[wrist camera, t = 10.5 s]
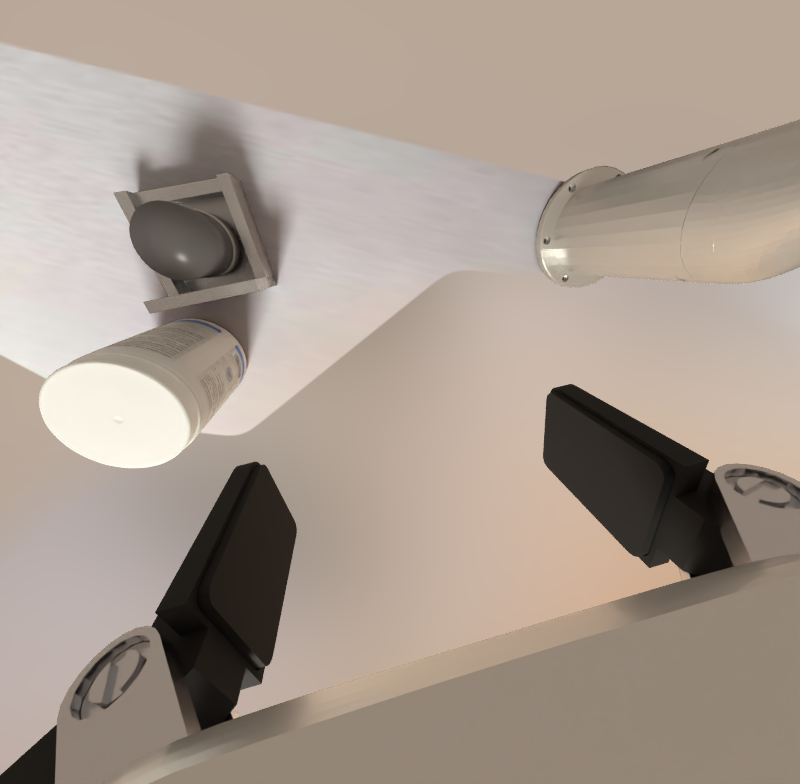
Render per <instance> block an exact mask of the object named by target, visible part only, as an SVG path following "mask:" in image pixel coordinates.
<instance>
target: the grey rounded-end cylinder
mask: <svg viewBox="0 0 800 784" xmlns="http://www.w3.org/2000/svg"><path fill="white" fill-rule="evenodd" d="M129 228H130V237H131V240H132V243H133V246H134V248H135V250H136V251H137V253H138V255H139V256H140V257H141V259H142V260H143V261H144V262H145V263H146V264H147V265H148V266H149V267H150V268H152V269H153V270H154V271H156V272H157V273H159V274H161V275H163V276H165V277H167V278H170V279H174V280H180V281H186V280H194V279H201V278H215V277H220V276H223V275H226V274H228V273H230V272H231V271H232V270H234V269H235V267H236V266H237V264H238V262H239V259H240V246H239V243H238V240H237V238H236V236H235V234H234V232H233V231H232V230H231V228H230V227H229V226H228V225H227V224H226V223H224V222H223V221H222V220H220V219H219V218H217V217H215V216H214V215H212V214H209V213H207V212H204V211H200V210H196V209H190V208H187V207H184V206H181V205H178V204H174V203H171V202H167V201H160V200H156V201H150V202H146V203H144V204H142V205H141V206H139V207H138V208H137V209H136V210H135V212H134V213H133V215H132V217H131V220H130V227H129Z"/></svg>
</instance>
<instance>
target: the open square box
mask: <svg viewBox="0 0 800 784" xmlns="http://www.w3.org/2000/svg"><path fill="white" fill-rule="evenodd" d="M216 176H217V178H213V179H208V180H202V181H197V182H191V183H186V184H180V185H174V186H169V187H163V188H158V189H152V190H147V191H141V192H135V193H131V192H128V191H121V192H116V193H114V195H115V197H116V199H117V201H118V202H119V204H120V206H121V208H122V210H123V212H124V214H125V216H126V218H127V219H128V221H129V223H130V220H131V217H132V215H133V213H134V212H135V210H136V209H137V208H138V207H139V206H141V205H142V204H144V203H146V202H150V201H156V200H160V201H167V202H171V203H174V204H178V205H181V206H184V207H187V208H190V209H196V210H200V211H204V212H207V213H209V214H212V215H214V216H215V217H217V218H219V219H220V220H222V221H223V222H224V223H226V224H227V225H228V226H229V227H230V228H231V230H232V231H233V232H234V234H235V236H236V238H237V240H238V243H239V246H240V259H239V262H238V264H237V266H236V267H235V269H234V270H232V271H231V272H230V273H228V274H226V275H223V276H220V277H215V278H201V279H194V280H186V281H180V280H174V279H170V278H167V277H165V276H163V275H161V274H159V273H157V272H156V271H155V272H156V274H157V276H158V278H159V280H160V282H161V284H162V285H163V287H164V289H165V291H166V293H167V295H168V297H165V298H160V299H155V300H151V301H146V302H144V304H145V306H146V308H147V309H148V311H149V313H155V312H160V311H165V310H169V309H174V308H179V307H184V306H189V305H194V304H198V303H203V302H208V301H213V300H218V299H223V298H227V297H232V296H237V295H242V294H247V293H251V292H256V291H260V290H263V289H266V288H269V287H272V286H275V285H277V283H276V280H275V278H274V275H273V272H272V269H271V266H270V264H269V261H268V258H267V255H266V252H265V250H264V247H263V244H262V241H261V238H260V236H259V233H258V230H257V227H256V224H255V222H254V219H253V216H252V213H251V210H250V208H249V205H248V202H247V199H246V196H245V194H244V191H243V188H242V185H241V182H240V181H239V180H237V179H236V178H235V177H233V176H232V175H230V174H229V173H228V172H227V173H222V174H216Z"/></svg>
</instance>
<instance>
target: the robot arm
mask: <svg viewBox="0 0 800 784" xmlns="http://www.w3.org/2000/svg"><path fill="white" fill-rule="evenodd" d="M543 241H544V242H543ZM536 250H537V257H538V261H539V264H540V267H541V269H542V270H543V272H544V274H545V275H546V276H547V277H548V278H549V279H550V280H551V281H553V282H554V283H556V284H558V285H561V286H565V287H584V286H588V285H590V284H593V283H595V282H597V281H599V280H600V279H602V278H603V277H605V276H606V277H607V276H608V277H622V278H637V279H652V280H668V281H683V282H699V283H717V284H718V283H719V284H741V283H749V282H755V281H760V280H765V279H768V278H772V277H775V276H778V275H781V274H783V273H786V272H788V271H791V270H794V269H796V268H798V267H800V120H797V121H794V122H791V123H788V124H784V125H781V126H778V127H775V128H772V129H769V130H765V131H762V132H759V133H757V134H753V135H750V136H747V137H744V138H740V139H737V140H734V141H731V142H728V143H724V144H721V145H718V146H715V147H711V148H708V149H705V150H702V151H698V152H696V153H692V154H689V155H686V156H683V157H680V158H676V159H673V160H670V161H666V162H663V163H660V164H657V165H653V166H650V167H647V168H644V169H641V170H638V171H634V172H631V173H628V174H624V172H622V171H620V170H618V169H616V168H613V167H608V166H601V167H594V168H591V169H588V170H585V171H583V172H580V173H578V174H576V175H574V176H573V177H571V178H570V179H569V180H567V181H566V182H565V183H564V184H563V185H562V186H561V187H560V188H559V189H558V190H557V191H556V192H555V194H554V195H553V196H552V198H551V199H550V200H549V202H548V204H547V206H546V208H545V210H544V212H543V214H542V217H541V220H540V222H539V227H538V231H537V239H536ZM543 459H544V462H545V464H546V466H547V467H548V468H549V469H550V470H551V471H552V472H553V474H554V475H555V476H556V477H557V478H558V479H559V480H560V481H561V482H562V483H563V484H564V485H565V486H566V487H567V488H568V489H569V490H570V491H571V492H572V493H573V495H575V497H576V498H578V499H579V501H580V502H581V503H582V504H583V505H584V506H585V507H586V508H587V509H588V510H589V511H590V512H591V513H592V514H593V515H594V516H595V518H596V519H597V520H598V521H599V522H600V523H601V524H602V525H603V526H604V527H605V528H606V529H607V530H608V531H609V532H610V533H611V534H612V535H613V536H614V538H615V539H616V540H618V542H619V543H620V544H621V545H622V546H623V547H624V548H625V549H626V550H627V551H628V552H629V553H630V554H632V555H633V556H637V557H639V558H640V559H641V560H642V561H643V562H644V563H645V564H646V565H647V566H648V567H649V568H651V567H654V566H658V565H661V564H664V563H668V562H669V559H671V561H672V562H674V563H675V564H676V565H677V566H678V568H679V572H680V576H681V581H680V582H676V583H673V584H669V585H666V586H663V587H659V588H656V589H653V590H649V591H646V592H643V593H639V594H636V595H633V596H629V597H626V598H622V599H619V600H616V601H612V602H609V603H606V604H603V605H599V606H596V607H592V608H589V609H585V610H582V611H579V612H576V613H572V614H569V615H566V616H562V617H559V618H555V619H552V620H549V621H546V622H542V623H539V624H536V625H532V626H529V627H526V628H522V629H519V630H516V631H513V632H509V633H506V634H503V635H499V636H496V637H493V638H490V639H486V640H483V641H480V642H476V643H473V644H470V645H467V646H463V647H460V648H457V649H453V650H451V651H447V652H444V653H441V654H437V655H434V656H431V657H427V658H424V659H421V660H418V661H414V662H411V663H408V664H405V665H402V666H398V667H395V668H392V669H389V670H385V671H382V672H379V673H376V674H372V675H369V676H366V677H363V678H360V679H356V680H353V681H350V682H347V683H343V684H340V685H337V686H334V687H330V688H327V689H324V690H321V691H318V692H314V693H311V694H308V695H305V696H302V697H299V698H296V699H293V700H289V701H286V702H284V703H280V704H277V705H274V706H271V707H269V708H266V709H262V710H259V711H257V712H253V713H250V714H247V715H244V716H242V717H240V716H239V714H238V711H237V709H236V705H237V701H238V697H239V693H240V690H242V689H245V688H248V687H252V686H255V685H259V684H261V683H262V679H263V673H264V669H265V666H267V665H269V664H270V662H271V659H272V656H273V651H274V647H275V642H276V637H277V632H278V626H279V621H280V616H281V611H282V606H283V601H284V595H285V590H286V585H287V580H288V575H289V569H290V564H291V559H292V554H293V549H294V544H295V538H296V533H297V531H296V530H297V529H296V523H295V521H294V519H293V517H292V515H291V513H290V511H289V509H288V507H287V505H286V503H285V501H284V499H283V498H282V496H281V494H280V492H279V490H278V488H277V486H276V484H275V482H274V480H273V478H272V476H271V474H270V472H269V470H268V468H267V467H266V466H265V465H260V464H259V463H258V462H252V463H249V464H245V465H240V466H237V467H236V468H235V469H234V471H233V472H232V474H231V476H230V478H229V480H228V482H227V483H226V485H225V487H224V489H223V490H222V492H221V494H220V496H219V498H218V500H217V501H216V503H215V505H214V507H213V509H212V510H211V512H210V514H209V516H208V518H207V520H206V521H205V523H204V525H203V527H202V529H201V531H200V532H199V534H198V536H197V538H196V540H195V541H194V543H193V545H192V547H191V549H190V550H189V552H188V554H187V556H186V558H185V560H184V561H183V563H182V565H181V567H180V569H179V570H178V572H177V574H176V576H175V578H174V579H173V581H172V583H171V585H170V587H169V588H168V590H167V592H166V594H165V596H164V598H163V599H162V601H161V603H160V605H159V607H158V608H157V610H156V612H155V613H156V614H157V615H158V616H157V618H156V620H155V622H154V623H153V625H152V627H150V626H144V627H139V628H135V629H133V630H131V631H129V632H127V633H125V634H123V635H122V636H120V637H119V638H117V639H116V640H114V641H113V642H111V643H110V644H109V645H108V646H106V647H105V648H104V649H103V650H102V651H101V652H100V653H98V654H97V655H96V656H95V657H94V658H93V659H92V660H91V661H90V663H89V664H88V665H87V666H86V667H85V668H84V669H83V670H82V672H81V673H80V674H79V675H78V677H77V678H76V680H75V681H74V682H73V684H72V685H71V687H70V688H69V690H68V692H67V694H66V696H65V698H64V700H63V702H62V704H61V706H60V710H59V714H58V719H57V725H56V726H55V727H54V728H53V729H51V730H50V731H49V732H48V733H47V734H46V735H45V736H44V737H42V739H40V740H39V741H38V742H37V743H36V744H35V745H34V746H32V747H31V748H30V749H29V750H28V751H27V752H26V753H25V754H24V755H22V756H21V757H20V758H19V759H18V760H17V761H16V762H15V763H14V764H13V765H11V766H10V767H9V768H8V769H7V770H6V771H5V772H4V773H2V774H1V775H0V784H800V482H799V481H797V480H795V479H793V478H791V477H788V476H786V475H784V474H782V473H779V472H776V471H772V470H770V469H767V468H763V467H758V466H753V465H747V464H726V465H723V466H721V467H718V468H717V470H716V471H715V472H714V473H712V472H710V471H708V470H707V469H706V467H707V464H708V461H709V460H708V459H706V458H704V457H702V456H701V455H698V454H697V453H695V452H693V451H691V450H689V449H688V448H686V447H684V446H683V445H681V444H679V443H677V442H675V441H674V440H672V439H670V438H668V437H666V436H665V435H663V434H661V433H659V432H657V431H656V430H654V429H652V428H650V427H648V426H647V425H645V424H643V423H641V422H639V421H638V420H636V419H634V418H632V417H631V416H629V415H627V414H625V413H623V412H621V411H620V410H618V409H616V408H614V407H613V406H611V405H609V404H607V403H605V402H604V401H602V400H600V399H598V398H596V397H595V396H593V395H591V394H589V393H587V392H586V391H584V390H582V389H580V388H579V387H577V386H575V385H572V384H569V385H565V386H560V387H556V388H553V389H552V390H551V392H550V394H549V395H548V396H547V401H546V418H545V435H544V452H543Z"/></svg>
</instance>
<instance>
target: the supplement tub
mask: <svg viewBox="0 0 800 784" xmlns="http://www.w3.org/2000/svg"><path fill="white" fill-rule="evenodd" d="M246 365H247V364H246V357H245V354H244V351H243V349H242V347H241V345H240V344H239V342H238V341H237V340H236V339H235V337H234V336H233V335H232V334H230V333H229V332H228V331H227V330H225V329H224V328H222V327H220V326H218V325H216V324H214V323H211V322H209V321H205V320H202V319H193V318H188V319H180V320H176V321H173V322H170V323H167V324H165V325H162V326H159V327H157V328H154V329H151V330H149V331H146V332H144V333H141V334H138V335H136V336H133V337H130V338H128V339H125V340H123V341H120V342H117V343H115V344H112V345H110V346H107V347H104V348H102V349H99V350H97V351H94V352H92V353H89V354H87V355H84V356H82V357H80V358H78V359H76V360H74V361H72V362H71V363H69V364H68V365H66V366H63V367H61V368H60V369H58V370H56V371H55V372H54V373H52V374H51V375H50V376H49V377H48V378H47V379H46V381H45V382H44V384H43V386H42V388H41V390H40V394H39V407H40V412H41V414H42V417H43V420H44V421H45V423H46V425H47V426H48V428H49V429H50V430H51V432H52V433H53V434H54V435H55V436H56V437H57V438H58V439H59V440H60V441H61V442H62V443H64V444H65V445H66V446H67V447H69V448H70V449H72V450H73V451H75V452H77V453H78V454H80V455H82V456H84V457H86V458H88V459H91V460H94V461H96V462H99V463H102V464H106V465H110V466H116V467H123V468H145V467H151V466H156V465H159V464H162V463H165V462H166V461H168V460H170V459H172V458H174V457H175V456H177V455H178V454H179V453H180V452H181V451H182V450H183V449H184V448H186V447H187V446H188V445H189V444H190V443H191V442H192V441H193V440H194V438H195V437H196V436H197V435H198V434H199V433H200V432H201V430H202V429H203V428H204V427H205V426H206V424H207V423H208V422H209V421H210V419H211V418H212V417H213V416H214V415H215V413H216V412H217V411H218V410H219V408H220V407H221V406H222V405H223V404H224V402H225V401H226V400H227V399H228V397H229V396H230V395H231V394H232V393H233V391H234V390H235V389H236V388H237V387H238V385H239V384H240V383H241V381H242V380H243V378H244V375H245V372H246Z"/></svg>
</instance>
